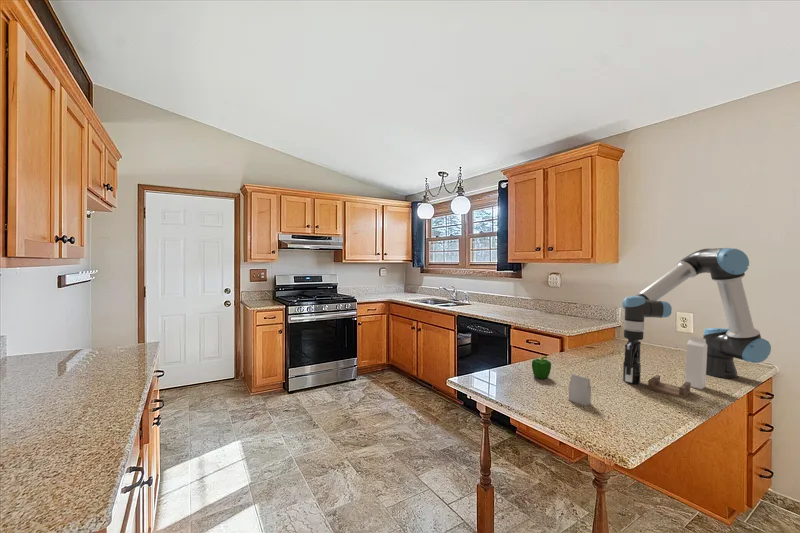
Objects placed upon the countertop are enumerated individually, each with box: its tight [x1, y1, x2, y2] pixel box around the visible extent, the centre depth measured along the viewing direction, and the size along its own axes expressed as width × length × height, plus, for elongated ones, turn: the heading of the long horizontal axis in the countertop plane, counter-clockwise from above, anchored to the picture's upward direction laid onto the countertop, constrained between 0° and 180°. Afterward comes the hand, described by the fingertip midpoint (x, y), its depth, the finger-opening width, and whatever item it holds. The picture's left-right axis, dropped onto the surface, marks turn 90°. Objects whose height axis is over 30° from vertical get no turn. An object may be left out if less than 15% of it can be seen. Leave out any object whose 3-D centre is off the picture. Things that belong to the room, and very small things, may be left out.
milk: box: [684, 336, 707, 390], centre depth 164 cm, size 6×6×22 cm
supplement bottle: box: [622, 356, 642, 385], centre depth 167 cm, size 7×7×12 cm
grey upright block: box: [568, 373, 592, 407], centre depth 142 cm, size 4×7×10 cm, turn 35°
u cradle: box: [647, 374, 691, 399], centre depth 158 cm, size 12×12×4 cm
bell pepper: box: [531, 355, 552, 379], centre depth 170 cm, size 8×8×10 cm
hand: (631, 379), depth 167 cm, fingers closed on supplement bottle, 7 cm apart
